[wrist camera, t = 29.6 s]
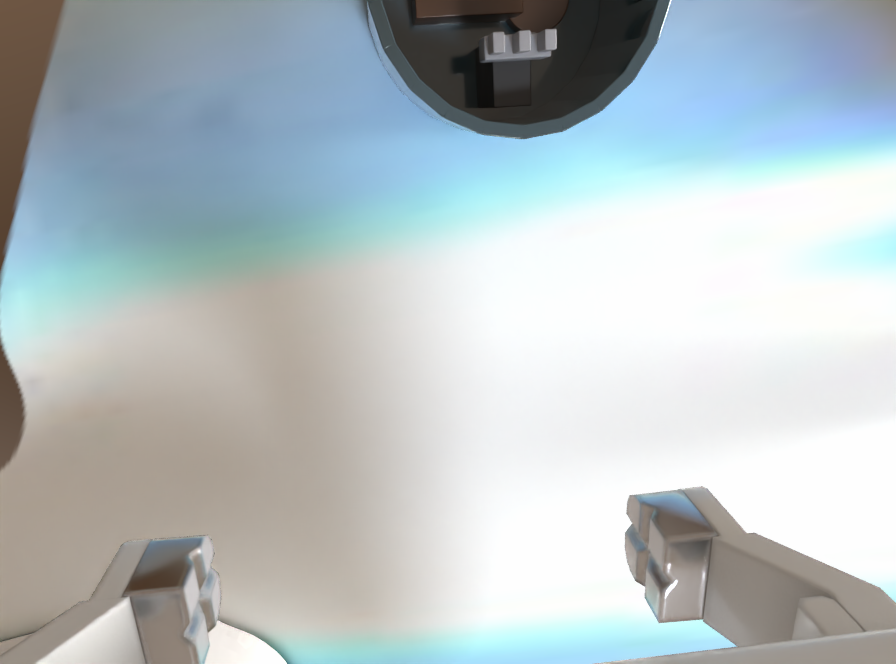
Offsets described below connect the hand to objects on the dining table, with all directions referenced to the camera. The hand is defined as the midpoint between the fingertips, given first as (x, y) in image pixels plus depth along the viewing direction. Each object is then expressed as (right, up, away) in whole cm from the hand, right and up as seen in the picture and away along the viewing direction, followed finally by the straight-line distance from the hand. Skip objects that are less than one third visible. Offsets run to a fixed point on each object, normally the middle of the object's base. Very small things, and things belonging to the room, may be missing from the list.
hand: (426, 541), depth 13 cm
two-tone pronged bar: (+3, +18, +18) cm, 26 cm away
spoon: (+2, +21, +21) cm, 30 cm away
